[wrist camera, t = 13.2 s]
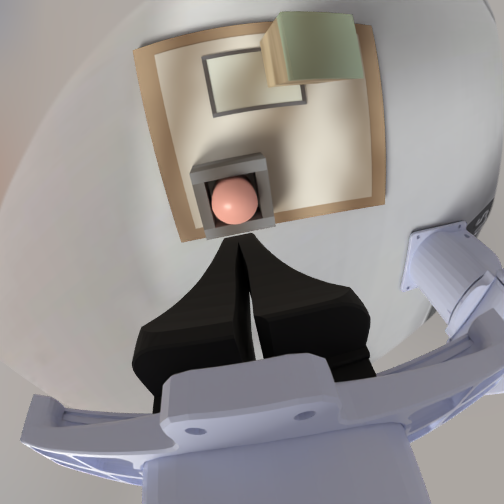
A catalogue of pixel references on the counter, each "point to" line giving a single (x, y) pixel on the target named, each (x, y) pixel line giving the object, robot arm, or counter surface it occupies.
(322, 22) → the green topped wooden block
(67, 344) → the counter surface
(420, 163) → the counter surface
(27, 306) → the counter surface
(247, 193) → the button
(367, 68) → the brown framed board
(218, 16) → the counter surface
